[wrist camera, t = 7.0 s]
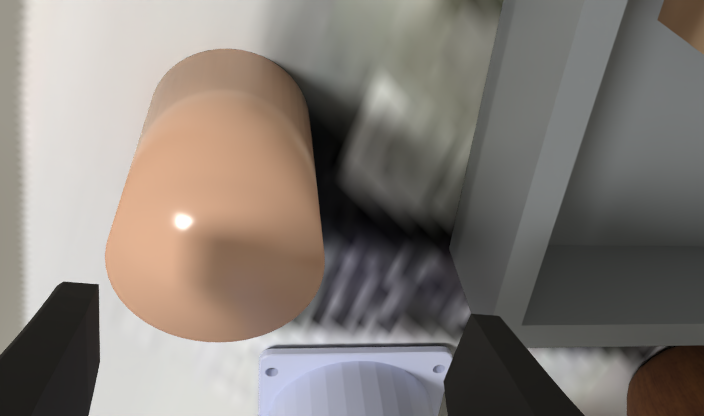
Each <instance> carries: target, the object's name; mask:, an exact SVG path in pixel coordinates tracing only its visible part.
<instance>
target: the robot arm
mask: <svg viewBox="0 0 704 416" xmlns="http://www.w3.org/2000/svg"><path fill="white" fill-rule="evenodd" d="M99 363H100V340H99V284H86V283H73V282H62V283H61V284H59V285H58V286H57V287H56V288H55V289H54V291H53V292H52V293H51V295H50V296H49V297H48V299H47V300H46V301H45V303H44V304H43V305H42V307H41V308H40V309H39V310H38V312H37V313H36V314H35V315H34V317H33V318H32V319H31V320H30V322H29V323H28V324H27V325H26V326H25V327H24V329H23V330H22V331H21V332H20V333H19V335H18V336H17V337H16V338H15V339H14V340H13V342H12V343H11V344H10V345H9V346H8V347H7V348H6V349H5V350H4V352H3V353H2V354H1V355H0V416H88V415H89V410H90V406H91V401H92V397H93V392H94V388H95V383H96V378H97V373H98V368H99ZM437 365H439V366H437ZM268 368H274V369H268ZM444 391H445V397H446V405H447V412H448V416H584V415H583V413H582V412H581V411H580V410H579V409H578V408H577V407H576V406H575V405H574V404H573V402H572V401H571V400H570V399H569V398H568V397H567V396H566V395H565V393H564V392H563V391H562V390H561V389H560V388H559V386H558V385H557V384H556V383H555V382H554V381H553V379H552V378H551V377H550V376H549V375H548V374H547V372H546V371H545V370H544V369H543V368H542V366H541V365H540V364H539V363H538V362H537V360H536V359H535V358H534V357H533V356H532V354H531V353H530V352H529V351H528V350H527V348H526V347H525V346H524V345H523V343H522V342H521V341H520V340H519V339H518V337H517V336H516V335H515V334H514V333H513V331H512V330H511V329H510V328H509V327H508V325H507V324H506V323H505V322H504V321H503V320H502V318H501V317H500V316H495V315H483V314H471V315H470V318H469V320H468V322H467V325H466V327H465V330H464V332H463V335H462V337H461V339H460V342H459V344H458V347H457V349H456V352H455V354H454V357H453V359H452V354H451V351H450V350H449V348H447V347H443V346H424V347H353V348H282V349H267V350H265V351H263V352H262V353H261V354H260V357H259V416H438V414H439V410H440V406H441V402H442V399H443V395H444Z"/></svg>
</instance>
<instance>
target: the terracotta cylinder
mask: <svg viewBox="0 0 704 416" xmlns="http://www.w3.org/2000/svg"><path fill="white" fill-rule="evenodd" d="M324 258H325V257H324V247H323V238H322V229H321V219H320V210H319V201H318V191H317V182H316V173H315V163H314V154H313V145H312V136H311V126H310V117H309V111H308V106H307V103H306V100H305V97H304V95H303V93H302V91H301V89H300V88H299V86H298V85H297V83H296V82H295V81H294V80H293V78H292V77H291V76H290V75H289V74H288V73H287V72H286V71H285V70H283V69H282V68H281V67H280V66H278V65H277V64H275V63H274V62H272V61H270V60H268V59H267V58H265V57H263V56H260V55H257V54H254V53H252V52H247V51H243V50H236V49H215V50H208V51H204V52H200V53H197V54H195V55H192V56H190V57H187V58H186V59H184V60H182V61H181V62H179V63H177V64H176V65H175V66H174V67H172V68H171V69H170V70H169V71H168V72H167V73H166V74H165V75H164V76H163V78H162V79H161V81H160V82H159V84H158V85H157V87H156V90H155V92H154V94H153V97H152V100H151V103H150V107H149V110H148V113H147V116H146V119H145V122H144V126H143V129H142V132H141V135H140V138H139V142H138V145H137V148H136V151H135V154H134V157H133V161H132V164H131V167H130V170H129V173H128V176H127V180H126V183H125V186H124V189H123V192H122V196H121V199H120V202H119V205H118V208H117V211H116V215H115V218H114V221H113V224H112V227H111V231H110V234H109V237H108V240H107V244H106V252H105V262H106V270H107V274H108V278H109V280H110V282H111V285H112V287H113V289H114V291H115V292H116V294H117V295H118V297H119V298H120V300H121V301H122V302H123V303H124V304H125V305H126V307H127V308H128V309H130V310H131V311H132V312H133V313H134V314H135V315H136V316H138V317H139V318H140V319H142V320H143V321H145V322H146V323H148V324H150V325H152V326H153V327H155V328H157V329H159V330H162V331H164V332H166V333H169V334H172V335H175V336H178V337H181V338H186V339H190V340H196V341H204V342H233V341H240V340H246V339H250V338H254V337H258V336H261V335H264V334H267V333H270V332H272V331H274V330H276V329H278V328H280V327H282V326H284V325H285V324H287V323H288V322H290V321H292V320H293V319H294V318H295V317H297V316H298V315H299V314H300V313H301V312H302V311H303V310H304V309H305V308H306V307H307V306H308V305H309V303H310V302H311V301H312V299H313V298H314V297H315V295H316V293H317V291H318V289H319V287H320V284H321V281H322V278H323V273H324Z"/></svg>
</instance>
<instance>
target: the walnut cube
mask: <svg viewBox="0 0 704 416" xmlns="http://www.w3.org/2000/svg"><path fill="white" fill-rule="evenodd" d="M657 20H658V21H659V22H661V23H662V24H663V25H665V26H666V27H667V28H669V29H670V30H671V31H673V32H674V33H675V34H677V35H678V36H679V37H681V38H682V39H683V40H685V41H686V42H687V43H689V44H690V45H691V46H693V47H694V48H695V49H697V50H698V51H700V52H701V53H702V54H704V0H664V2H663V5H662V8H661V10H660V13H659V16H658V19H657Z"/></svg>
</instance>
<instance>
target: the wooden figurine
mask: <svg viewBox="0 0 704 416" xmlns="http://www.w3.org/2000/svg"><path fill="white" fill-rule="evenodd" d="M627 416H704V345H691V346H676V347H673V348H670V349H667V350H665V351H664V352H662V353H660V354H658V355H657V356H655V357H653V358H652V359H650V360H649V361H648V362H646V363H645V364H644V365H643V366H641V367H640V368H639V370H638V371H637V372H636V374H635V375H634V376H633V378H632V380H631V382H630V384H629V388H628V394H627Z"/></svg>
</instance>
